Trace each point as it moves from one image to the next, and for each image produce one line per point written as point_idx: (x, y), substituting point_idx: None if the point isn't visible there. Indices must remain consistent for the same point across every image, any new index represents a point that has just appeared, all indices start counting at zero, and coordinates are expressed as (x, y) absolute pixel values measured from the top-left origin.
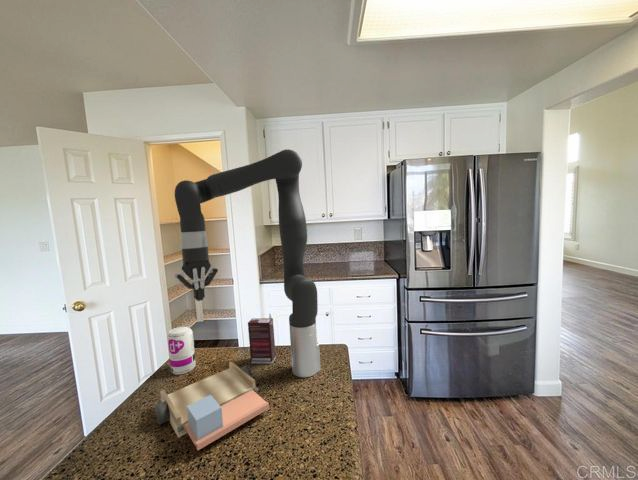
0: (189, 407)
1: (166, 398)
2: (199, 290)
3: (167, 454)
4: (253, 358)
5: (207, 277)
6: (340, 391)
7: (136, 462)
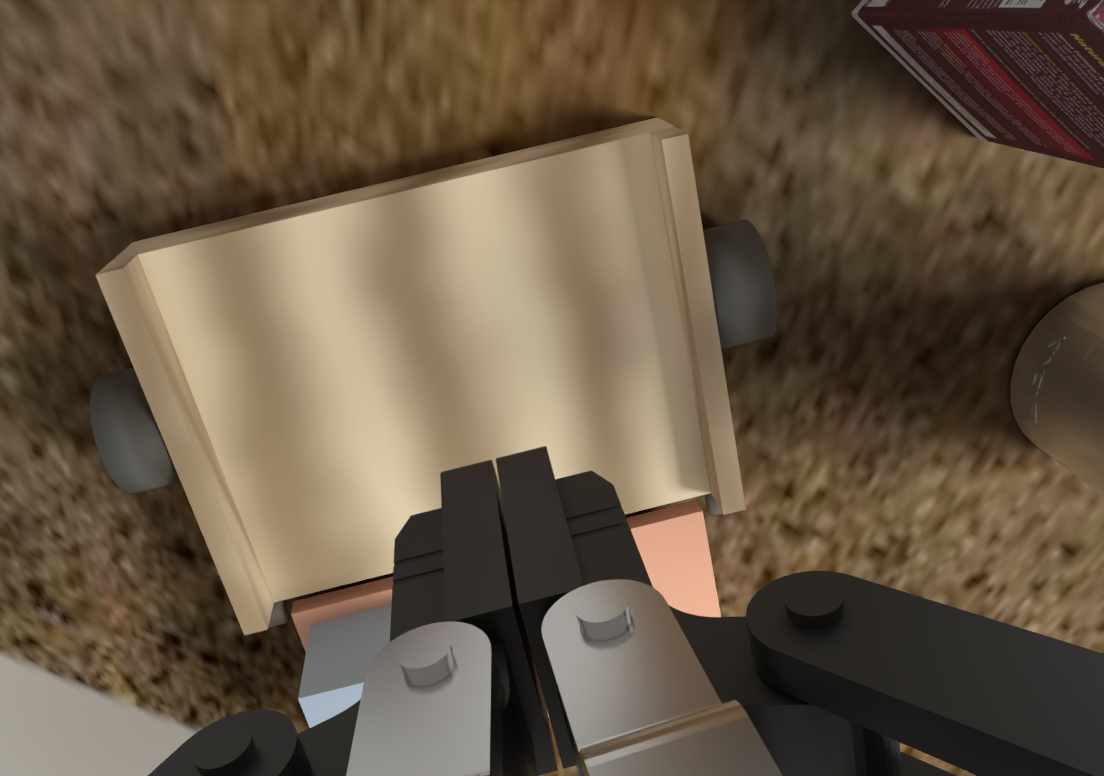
0: (314, 718)
1: (159, 405)
2: (543, 751)
3: (218, 647)
4: (887, 32)
5: (988, 765)
6: (1091, 647)
7: (79, 629)
